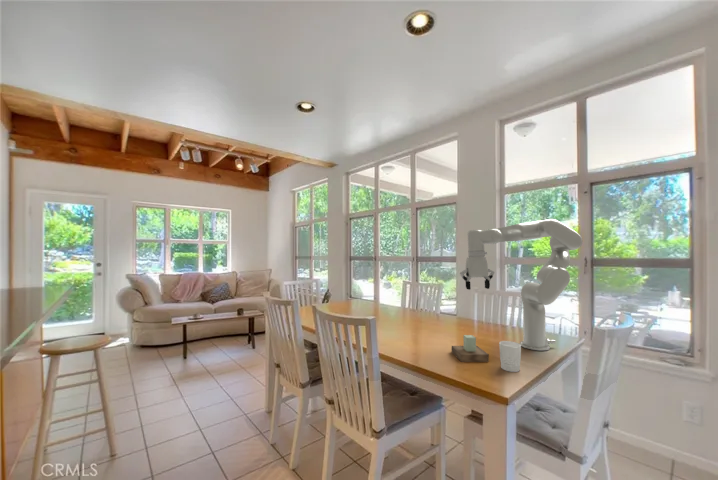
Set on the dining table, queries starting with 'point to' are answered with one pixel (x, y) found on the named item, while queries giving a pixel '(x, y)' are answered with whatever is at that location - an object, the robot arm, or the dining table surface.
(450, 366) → the dining table surface
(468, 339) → the sage block
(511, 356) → the white cup
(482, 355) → the walnut base
